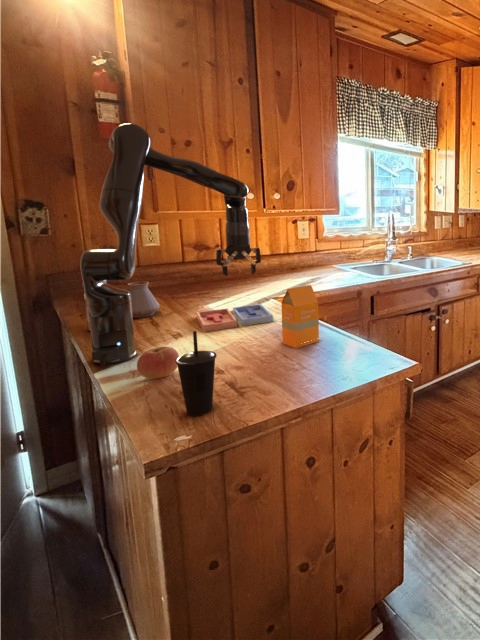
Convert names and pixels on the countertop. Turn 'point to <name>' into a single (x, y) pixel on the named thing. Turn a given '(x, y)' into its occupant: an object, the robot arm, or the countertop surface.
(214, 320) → the red spoon
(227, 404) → the countertop surface
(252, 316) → the blue spoon
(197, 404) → the drinking cup
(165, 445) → the countertop surface
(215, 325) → the red tray
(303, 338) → the orange juice
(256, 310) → the blue tray
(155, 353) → the apple
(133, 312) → the coffee pot
